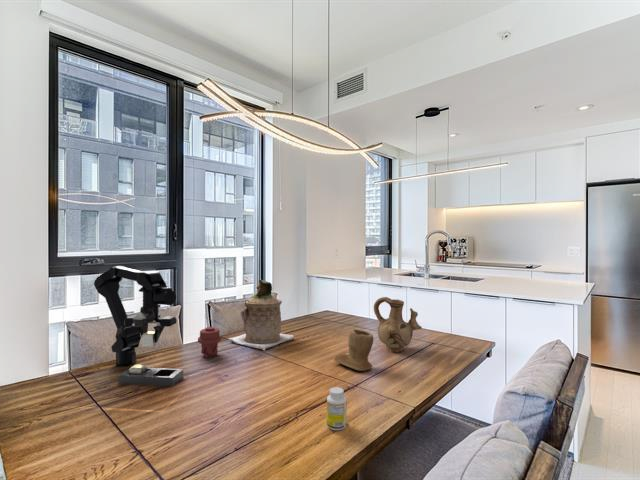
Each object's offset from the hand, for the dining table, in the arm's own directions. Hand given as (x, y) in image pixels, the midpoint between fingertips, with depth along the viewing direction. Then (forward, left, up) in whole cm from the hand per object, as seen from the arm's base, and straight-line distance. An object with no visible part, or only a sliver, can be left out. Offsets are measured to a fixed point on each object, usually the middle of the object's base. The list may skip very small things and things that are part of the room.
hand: (150, 342), depth 136 cm
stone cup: (+82, +12, -11) cm, 84 cm away
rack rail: (+7, -11, -11) cm, 17 cm away
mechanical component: (+17, +18, -11) cm, 27 cm away
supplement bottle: (+75, -34, -11) cm, 83 cm away
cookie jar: (+35, +42, -11) cm, 56 cm away
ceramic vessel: (+102, +34, -11) cm, 108 cm away
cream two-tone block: (0, 0, -1) cm, 1 cm away
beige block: (+2, -11, -10) cm, 15 cm away
